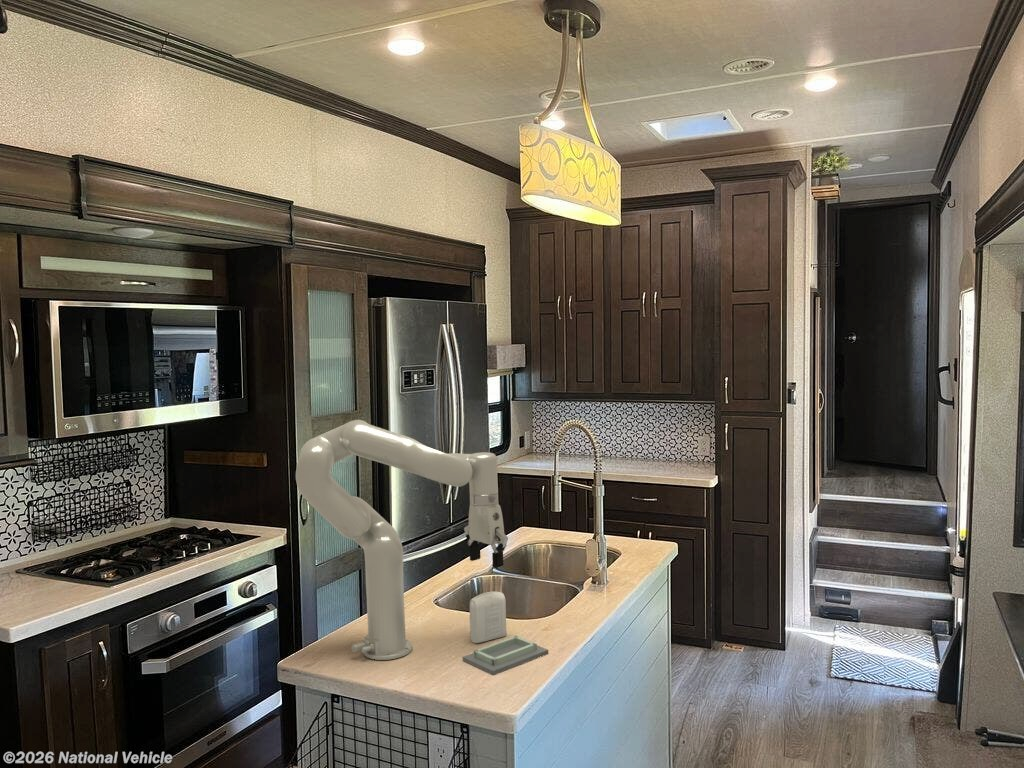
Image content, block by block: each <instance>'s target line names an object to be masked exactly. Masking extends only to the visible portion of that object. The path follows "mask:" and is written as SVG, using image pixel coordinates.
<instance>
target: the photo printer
mask: <svg viewBox="0 0 1024 768" xmlns="http://www.w3.org/2000/svg"><path fill="white" fill-rule="evenodd" d="M506 603H507V602H506V597H505V594H504V593H503V592H501V591H500V592H499V591H487V592H486V591H485V592H483V593H480V594H478V595H476V596H474V597H473V598H471V599H470V600H469V630H470V631H469V634H470V635H469V636H470V640H471V642H472V643H474V644H479V643H484V642H488V641H492V640H495V639H500V638H504V637H506V636H507V609H506V608H507V607H506Z"/></svg>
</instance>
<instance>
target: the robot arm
mask: <svg viewBox="0 0 1024 768" xmlns="http://www.w3.org/2000/svg"><path fill="white" fill-rule="evenodd" d="M353 455H354V456H356V457H357V456H358V457H361V458H364V459H367V460H370V461H374V462H376V463H380V464H383V465H386V466H390V467H392V468H396V469H397V470H398V469H399V470H402V471H404V472H407V473H410V474H415V475H417V476H420V477H423V478H426V479H429V480H431V481H434V482H438V483H441V484H444V485H448V486H451V487H457V488H459V487H464V486H465V485H467V484H468V485H469V510H468V525H466V526H464V527H463V530H464V533H465V538H466V540H467V545H468V546H469V561H471V562H473V561H477V560H480V559H481V544H484V545H485V544H487V545H489V546H491V549H492V550H493V552H492V553H491V554H492V555H491V557H492V558H491V559H492V568H494V569H498V568H500V567H504V552H505V550H506V547H507V545H508V541H509V537H508V536H507V535H506V534H505V527H504V519H503V512H502V508H501V505H500V504H499V487H498V486H499V484H498V481H499V480H498V460H497V459H498V458H497V455H496V454H495V453H493V452H488V451H487V452H486V451H485V452H483V451H480V452H474V453H460V452H459V453H458V452H454V453H453V452H451V453H446V452H443V451H440V450H438V449H434V448H432V447H429V446H427V445H425V444H423V443H421V442H419V441H418V440H416V439H414V438H412V437H410V436H407V435H404V434H401V433H397V432H394V431H391V430H388V429H385V428H382V427H379V426H375V425H373V424H369V423H368V422H366V421H365V420H362V419H354V420H350V421H348V422H346V423H344V424H342V425H340V426H338V427H335V428H333V429H331V430H329V431H327V432H324V433H322V434H319V435H316V436H314V437H313V438H310V439H308V441H306V442H305V443H304V444H303V446H302V448H301V450H300V452H299V457H298V461H297V464H296V470H295V481H296V486H297V489H298V491H299V493H300V494H301V496H302V497H303V498H304V499H305V501H306V502H307V503H308V504H310V506H311V507H312V508H314V509H315V510H316V512H318V514H320V516H321V517H323V518H324V519H325V520H326V521H327V522H328V523H329V524H330V525H331V526H332V527H333V528H334V529H335V530H336V531H337V532H338V533H339V534H340V535H341V536H342V537H344V538H346V539H348V540H352V541H354V542H355V543H356V544H357V545H358V546H360V547H361V549H362V550H363V552H364V553H363V554H364V562H365V563H364V564H365V565H364V566H365V569H364V570H365V572H364V573H365V591H366V592H365V593H366V610H367V611H366V613H367V614H366V615H367V635H365V636H364V640H362V641H361V642H357V643H354V644H352V645H351V651H352V653H358V652H360V651H361V653H363V656H364V657H365V658H368V659H371V660H374V659H375V660H374V661H376V660H377V661H386V660H387V661H388V660H394V659H399V658H402V657H404V656H406V655H408V654H410V653H411V652H412V650H413V643H412V641H410V640H409V639H407V637H406V636H407V635H406V616H405V614H406V613H405V592H404V591H405V590H404V550H403V549H404V547H403V544H402V540H401V539H400V536H399V534H398V532H397V531H396V529H395V527H393V525H391V524H390V523H389V522H388V521H387V520H386V519H385V518H384V517H383V516H381V514H380V513H378V512H377V511H376V510H375V509H374V508H373V507H372V506H371V504H369V503H367V502H366V500H364V499H362V498H361V497H359V496H355V495H353V496H352V495H351V494H350V493H349V492H348V491H347V490H345V488H344V487H343V486H342V485H340V484H339V482H337V481H336V480H335V478H333V476H332V473H331V470H332V468H333V465H334V464H336V463H339V462H341V461H343V460H345V459H347V458H349V457H351V456H353ZM480 543H481V544H480Z"/></svg>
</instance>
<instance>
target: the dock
mask: <svg viewBox="0 0 1024 768" xmlns="http://www.w3.org/2000/svg"><path fill="white" fill-rule="evenodd" d="M548 654H549V649H547V648H545V647H542V646H540V645H538V643H535V642H532V641H530V640H528V639H526V638H522V637H520V636H517V635H515V636H511V637H509V638H506V639H503V640H501V641H498V642H494V643H492V644H490V645H489V644H488V645H486V646H483V647H481V648H478V649H475V650H473V652H472V653H469V654H467V655H464V656H462V662H465V663H467V664H469V665H471V666H473V667H475V668H478V669H480V670H482V671H484V672H486V673H488V674H489V675H492V676H495V675H497V674H500V673H503V672H505V671H508V670H510V669H513V668H515V667H518V666H520V665H523V664H526V663H528V662H532V661H533V660H535V659H539V658H541V657H543V655H544V656H546V655H548ZM540 656H541V657H540ZM538 657H539V658H538Z"/></svg>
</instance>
